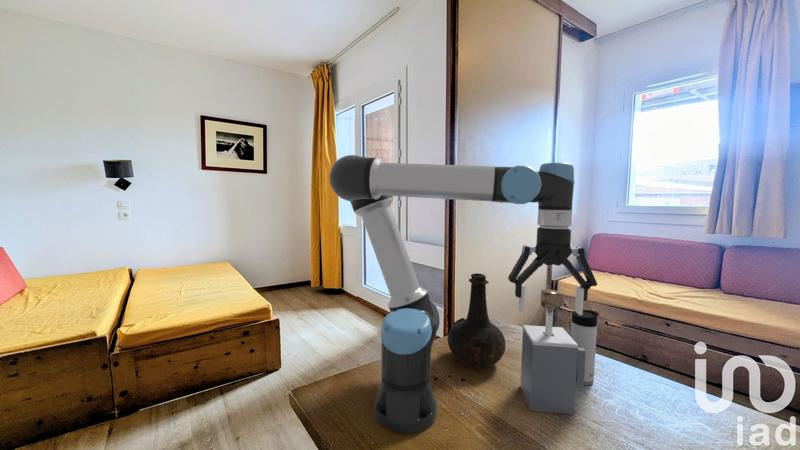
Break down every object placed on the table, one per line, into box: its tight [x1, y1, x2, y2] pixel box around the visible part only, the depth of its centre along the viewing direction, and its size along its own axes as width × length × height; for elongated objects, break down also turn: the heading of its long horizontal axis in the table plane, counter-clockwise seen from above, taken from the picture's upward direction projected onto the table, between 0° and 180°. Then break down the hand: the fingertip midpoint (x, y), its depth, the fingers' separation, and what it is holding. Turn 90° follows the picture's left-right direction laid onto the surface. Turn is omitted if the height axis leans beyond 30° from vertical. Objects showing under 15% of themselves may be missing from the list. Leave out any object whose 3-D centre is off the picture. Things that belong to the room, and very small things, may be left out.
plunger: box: [540, 288, 561, 336], centre depth 80 cm, size 4×4×24 cm
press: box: [520, 324, 586, 415], centre depth 80 cm, size 14×10×17 cm
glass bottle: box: [447, 272, 507, 369], centre depth 99 cm, size 18×18×28 cm
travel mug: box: [570, 309, 600, 386], centre depth 90 cm, size 6×7×20 cm
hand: (549, 311), depth 79 cm, fingers open, 13 cm apart
